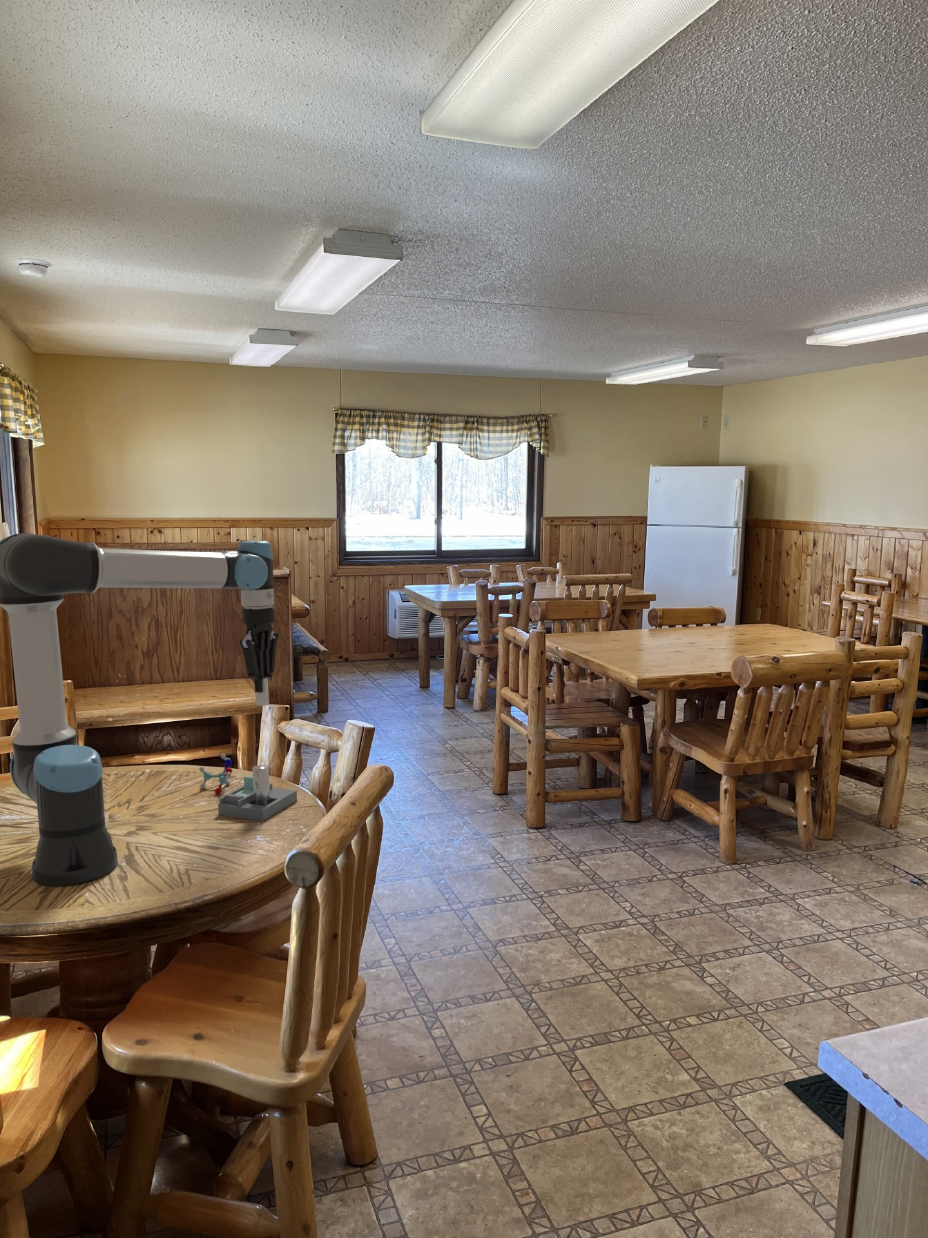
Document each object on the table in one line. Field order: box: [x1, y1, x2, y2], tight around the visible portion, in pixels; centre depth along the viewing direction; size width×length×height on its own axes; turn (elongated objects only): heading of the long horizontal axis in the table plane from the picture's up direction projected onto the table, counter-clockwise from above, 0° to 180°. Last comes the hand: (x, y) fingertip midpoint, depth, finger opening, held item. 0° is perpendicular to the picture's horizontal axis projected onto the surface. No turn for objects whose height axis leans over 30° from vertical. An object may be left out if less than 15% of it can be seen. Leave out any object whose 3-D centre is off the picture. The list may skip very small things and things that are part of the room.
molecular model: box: [198, 753, 233, 795], centre depth 213 cm, size 12×10×10 cm
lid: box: [234, 775, 253, 797], centre depth 201 cm, size 6×4×4 cm, turn 159°
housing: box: [217, 782, 298, 822], centre depth 200 cm, size 14×12×4 cm
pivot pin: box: [251, 764, 270, 806], centre depth 197 cm, size 4×4×10 cm
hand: (262, 704), depth 206 cm, fingers closed
